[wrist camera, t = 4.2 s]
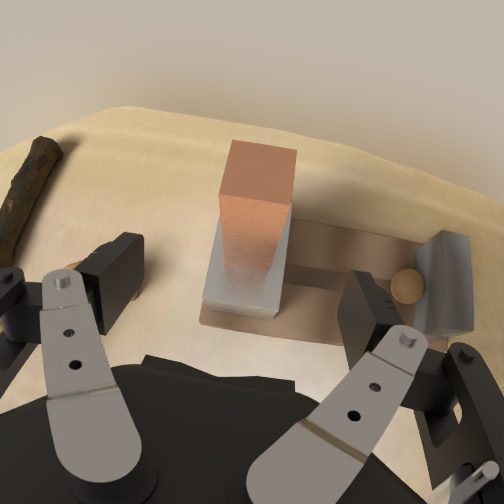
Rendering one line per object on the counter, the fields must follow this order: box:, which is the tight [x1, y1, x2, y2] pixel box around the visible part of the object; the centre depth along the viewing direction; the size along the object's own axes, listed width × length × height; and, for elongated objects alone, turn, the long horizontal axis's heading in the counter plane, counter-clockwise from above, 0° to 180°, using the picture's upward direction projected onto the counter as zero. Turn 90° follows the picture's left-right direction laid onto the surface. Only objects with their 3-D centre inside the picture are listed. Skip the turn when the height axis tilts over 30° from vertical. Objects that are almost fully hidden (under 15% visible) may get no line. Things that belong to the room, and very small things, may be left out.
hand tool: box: [0, 136, 64, 269], centre depth 27 cm, size 19×4×5 cm, turn 166°
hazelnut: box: [391, 269, 425, 304], centre depth 25 cm, size 3×3×3 cm
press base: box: [199, 218, 474, 352], centre depth 25 cm, size 22×10×7 cm, turn 81°
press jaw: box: [202, 140, 297, 320], centre depth 20 cm, size 5×8×13 cm, turn 171°
